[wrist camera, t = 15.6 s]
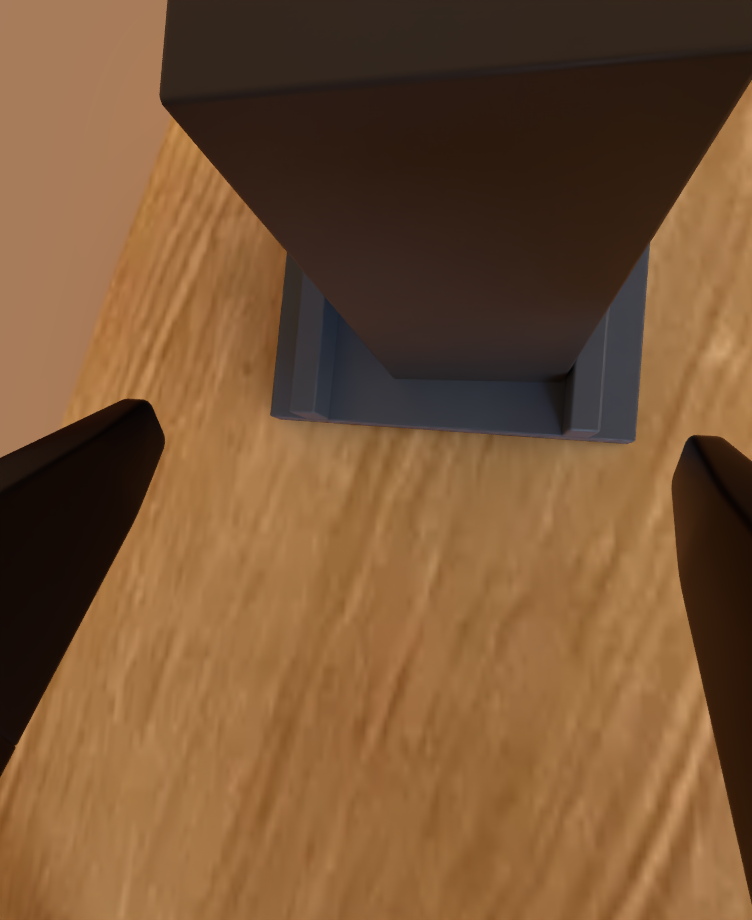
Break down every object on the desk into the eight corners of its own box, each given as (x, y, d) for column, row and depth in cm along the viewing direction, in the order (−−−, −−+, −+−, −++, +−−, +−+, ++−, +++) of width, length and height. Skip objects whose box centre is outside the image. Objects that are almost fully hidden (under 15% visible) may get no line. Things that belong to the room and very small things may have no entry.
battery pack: (577, 83, 17) (859, -1280, 4) (563, 383, 16) (828, -32, 3) (403, 98, 18) (174, -925, 5) (385, 379, 17) (85, 52, 4)
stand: (628, 444, 16) (650, 436, 14) (279, 419, 19) (249, 409, 16) (660, 20, 17) (685, -53, 15) (316, 47, 19) (293, -13, 17)
